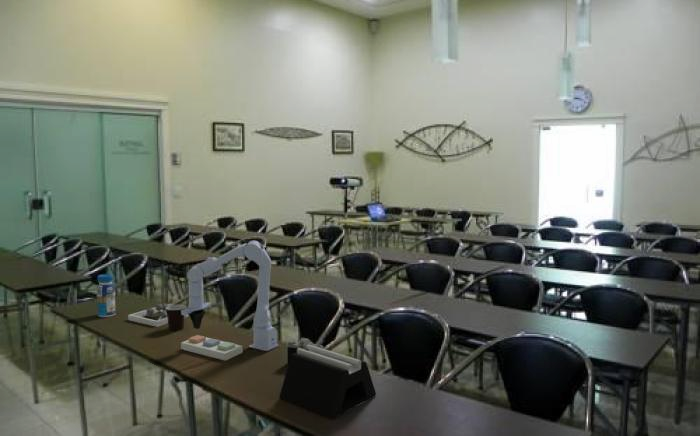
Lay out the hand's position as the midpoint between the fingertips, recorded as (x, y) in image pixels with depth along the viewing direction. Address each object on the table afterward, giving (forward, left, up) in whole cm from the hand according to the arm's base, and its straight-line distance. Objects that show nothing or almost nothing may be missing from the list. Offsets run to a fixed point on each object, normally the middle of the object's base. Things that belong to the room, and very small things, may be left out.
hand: (196, 328), depth 225 cm
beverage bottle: (+72, -10, -8) cm, 73 cm away
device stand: (-71, +12, -9) cm, 73 cm away
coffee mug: (+27, -14, -8) cm, 32 cm away
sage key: (-16, 0, -6) cm, 17 cm away
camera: (-49, -8, -8) cm, 50 cm away
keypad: (-8, 0, -8) cm, 11 cm away
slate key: (-8, 0, -6) cm, 10 cm away
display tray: (+46, -20, -8) cm, 51 cm away
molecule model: (+47, -21, -9) cm, 52 cm away
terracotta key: (0, 0, -6) cm, 6 cm away
